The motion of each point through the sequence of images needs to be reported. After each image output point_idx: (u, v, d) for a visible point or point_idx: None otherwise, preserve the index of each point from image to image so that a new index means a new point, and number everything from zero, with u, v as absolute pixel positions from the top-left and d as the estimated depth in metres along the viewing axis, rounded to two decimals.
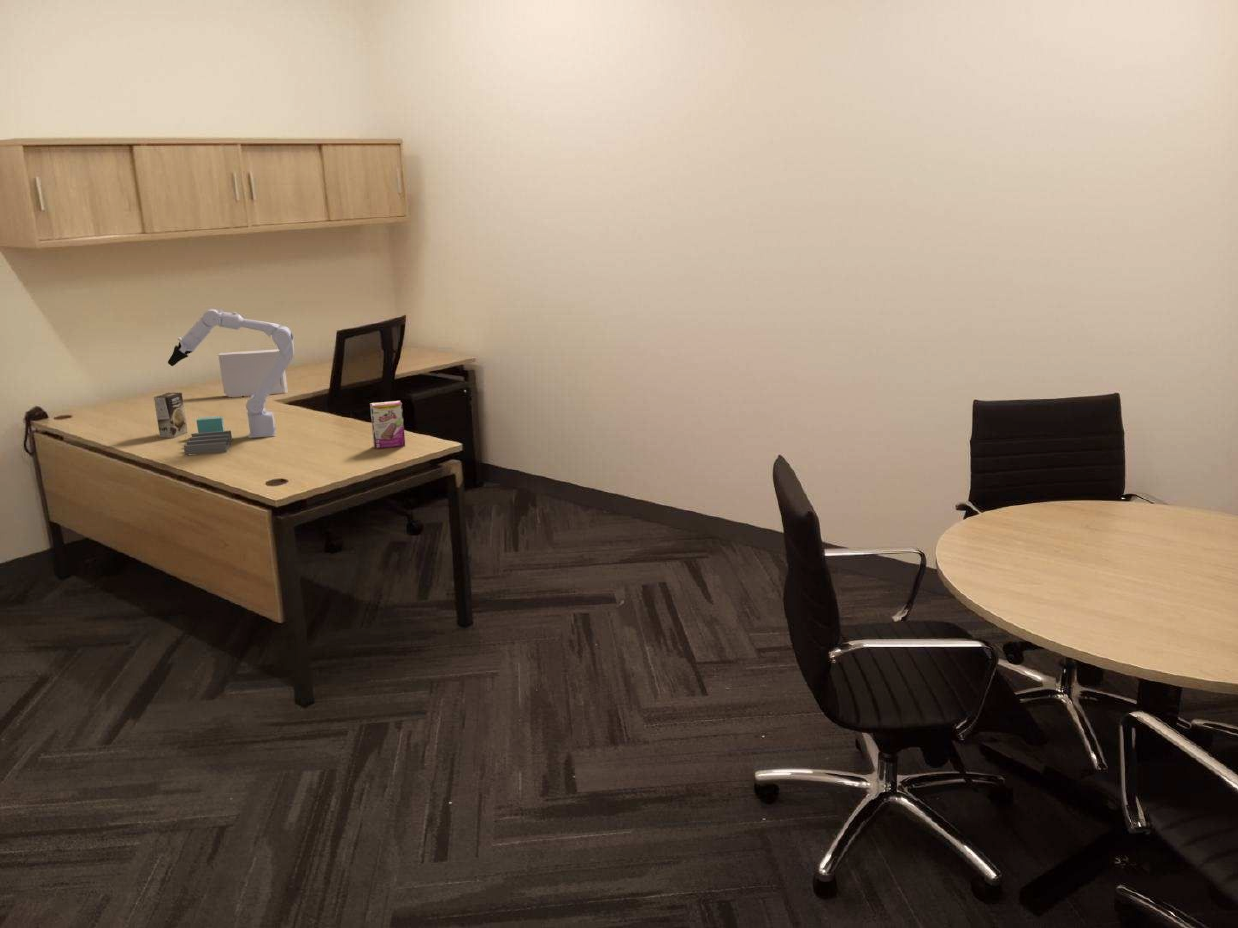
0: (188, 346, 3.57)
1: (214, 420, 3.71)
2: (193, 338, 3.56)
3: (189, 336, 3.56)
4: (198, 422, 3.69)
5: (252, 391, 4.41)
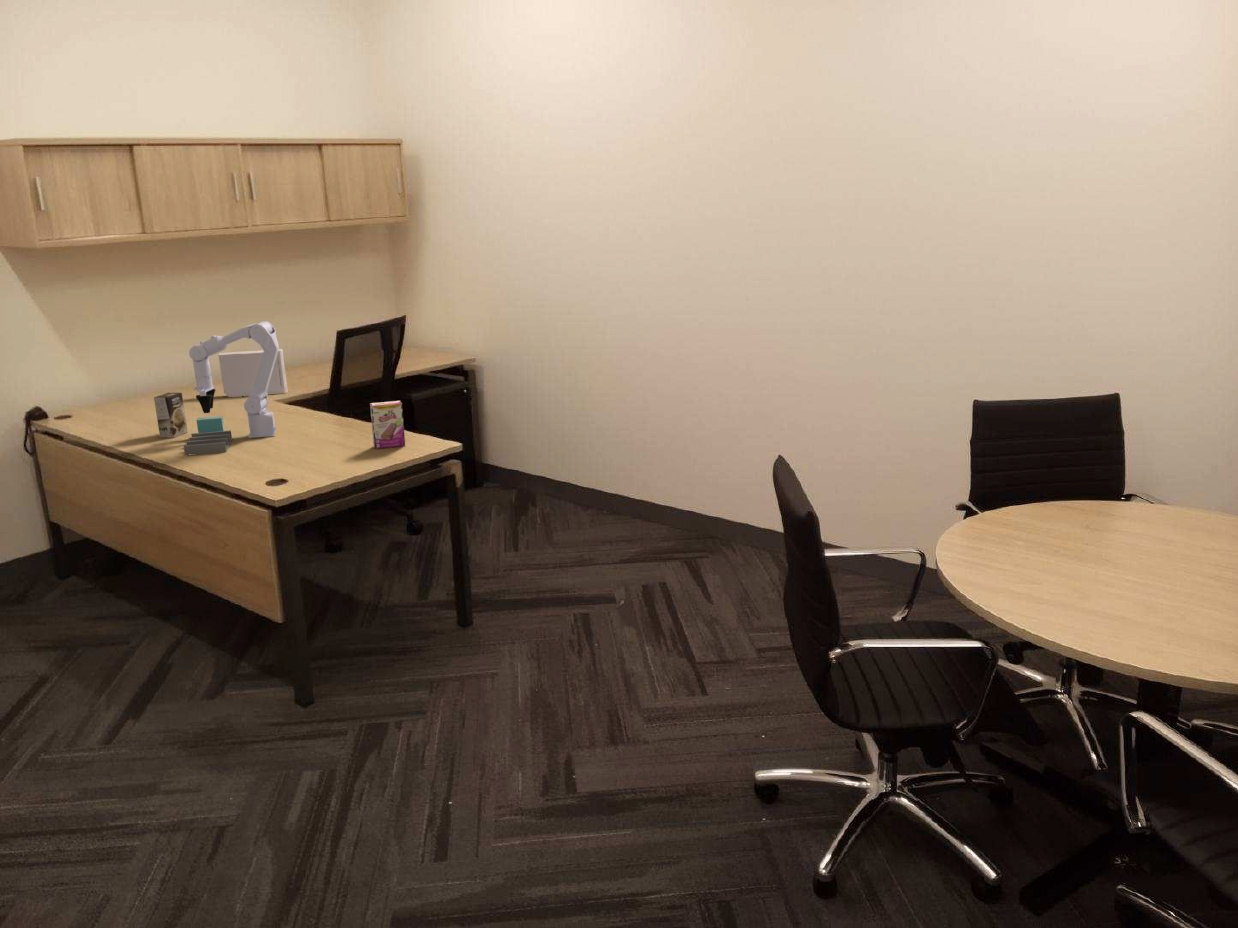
0: (205, 388, 3.66)
1: (214, 420, 3.71)
2: (202, 378, 3.65)
3: (198, 380, 3.65)
4: (198, 422, 3.69)
5: None
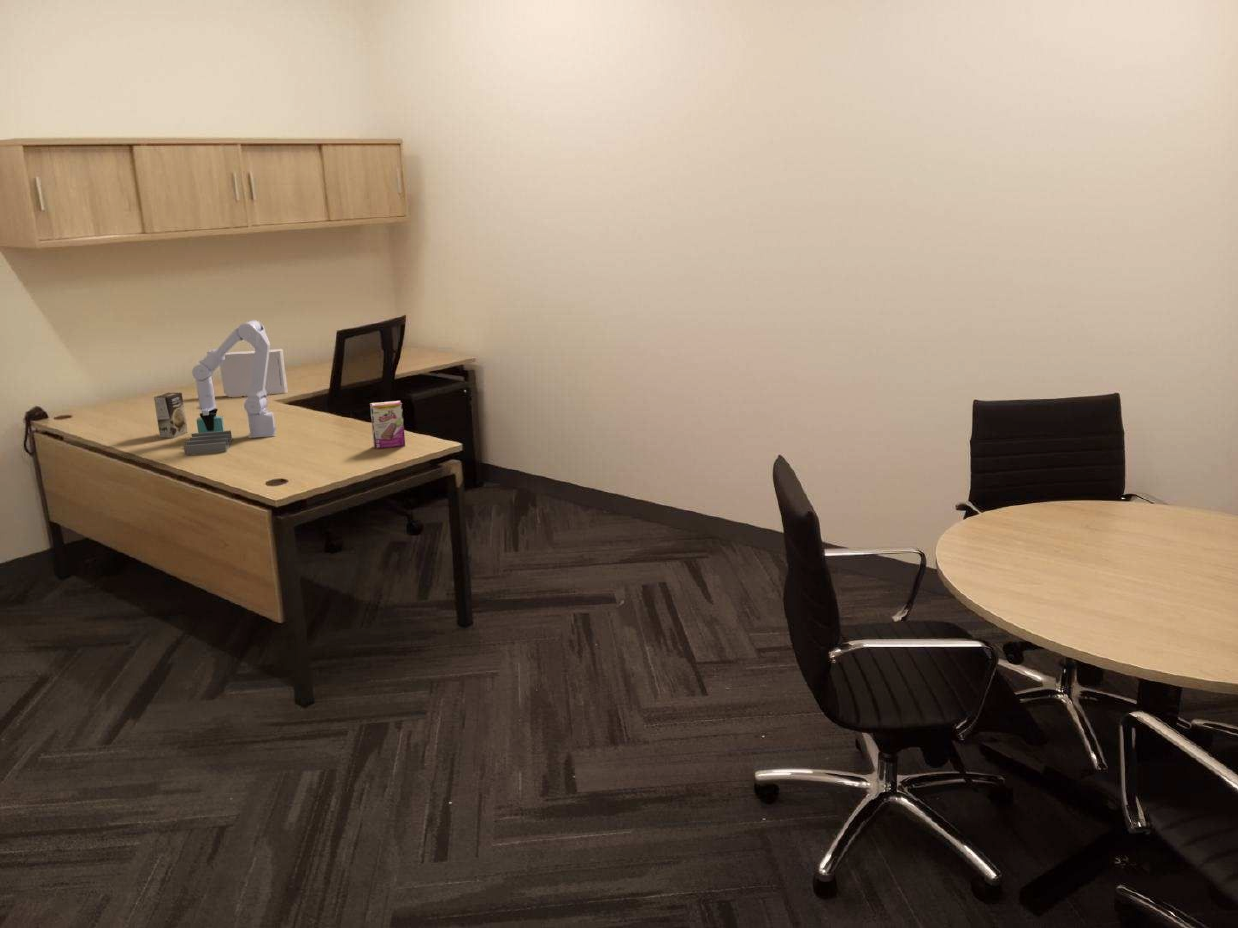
0: (208, 407, 3.68)
1: (214, 420, 3.71)
2: (205, 398, 3.67)
3: (201, 399, 3.67)
4: (198, 422, 3.69)
5: None
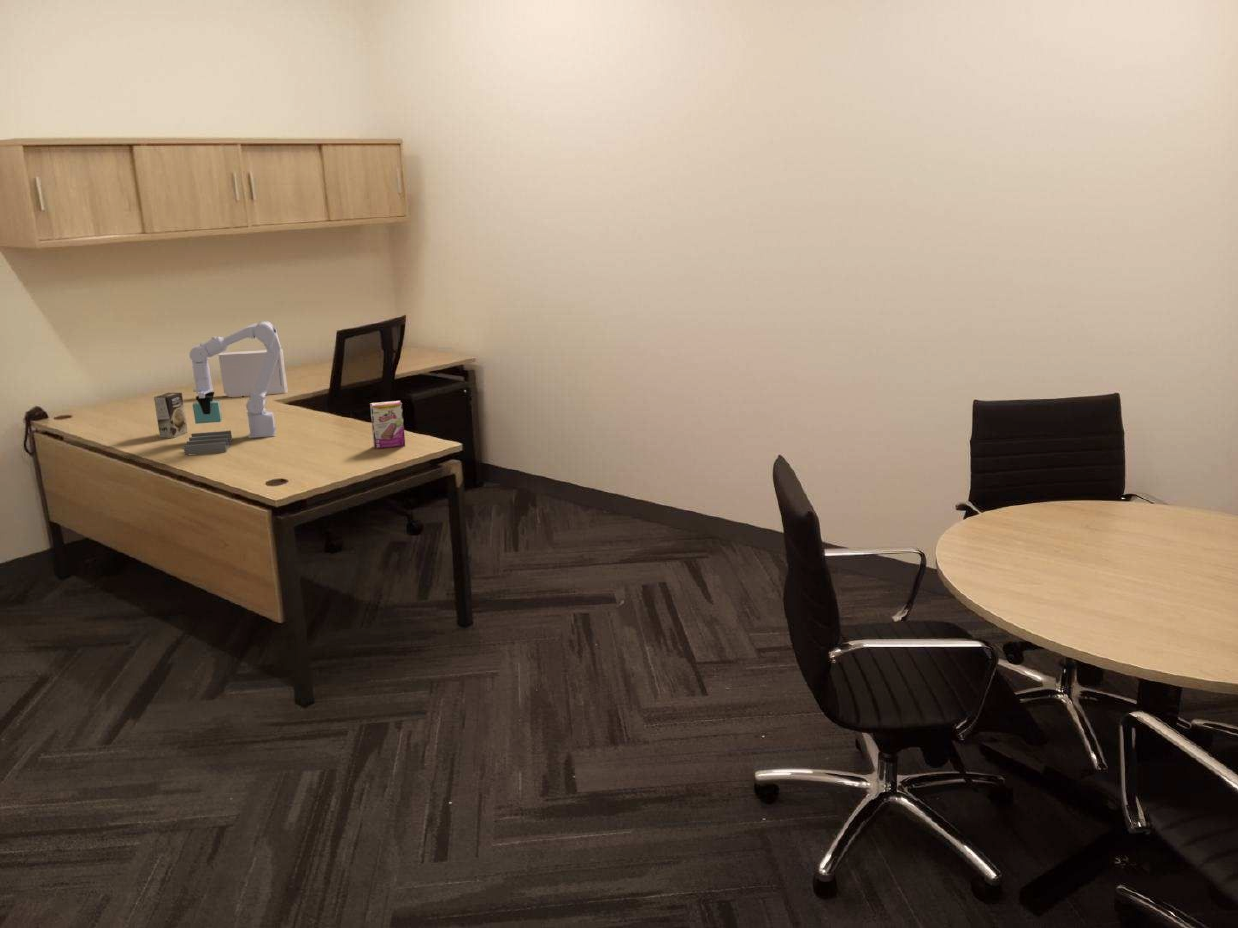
0: (204, 390, 3.62)
1: (210, 405, 3.65)
2: (201, 380, 3.61)
3: (197, 382, 3.61)
4: (194, 406, 3.64)
5: (252, 391, 4.41)
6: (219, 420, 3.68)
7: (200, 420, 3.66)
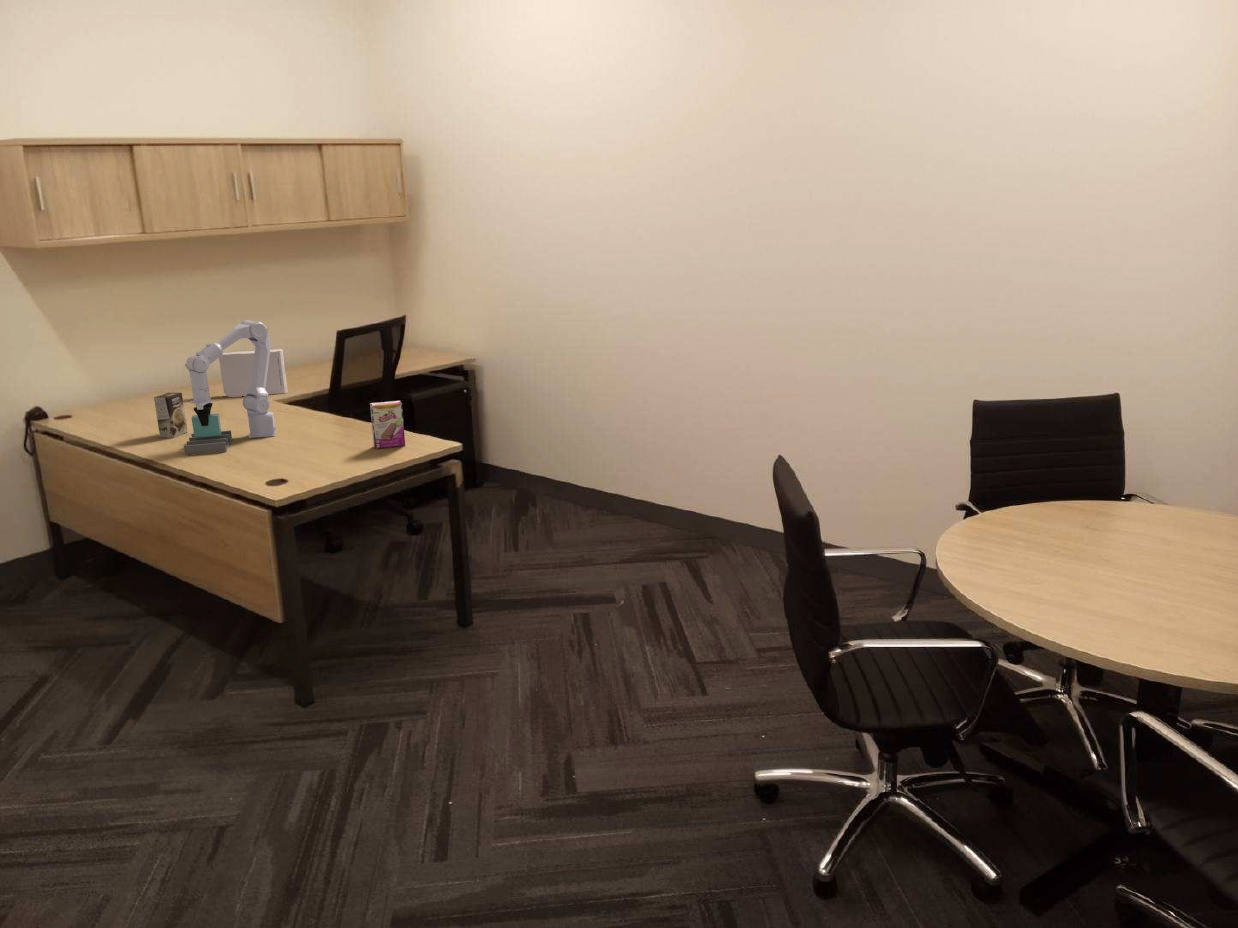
0: (202, 401, 3.52)
1: (210, 418, 3.55)
2: (199, 391, 3.50)
3: (195, 393, 3.51)
4: (193, 420, 3.54)
5: None
6: (219, 434, 3.57)
7: (199, 434, 3.56)
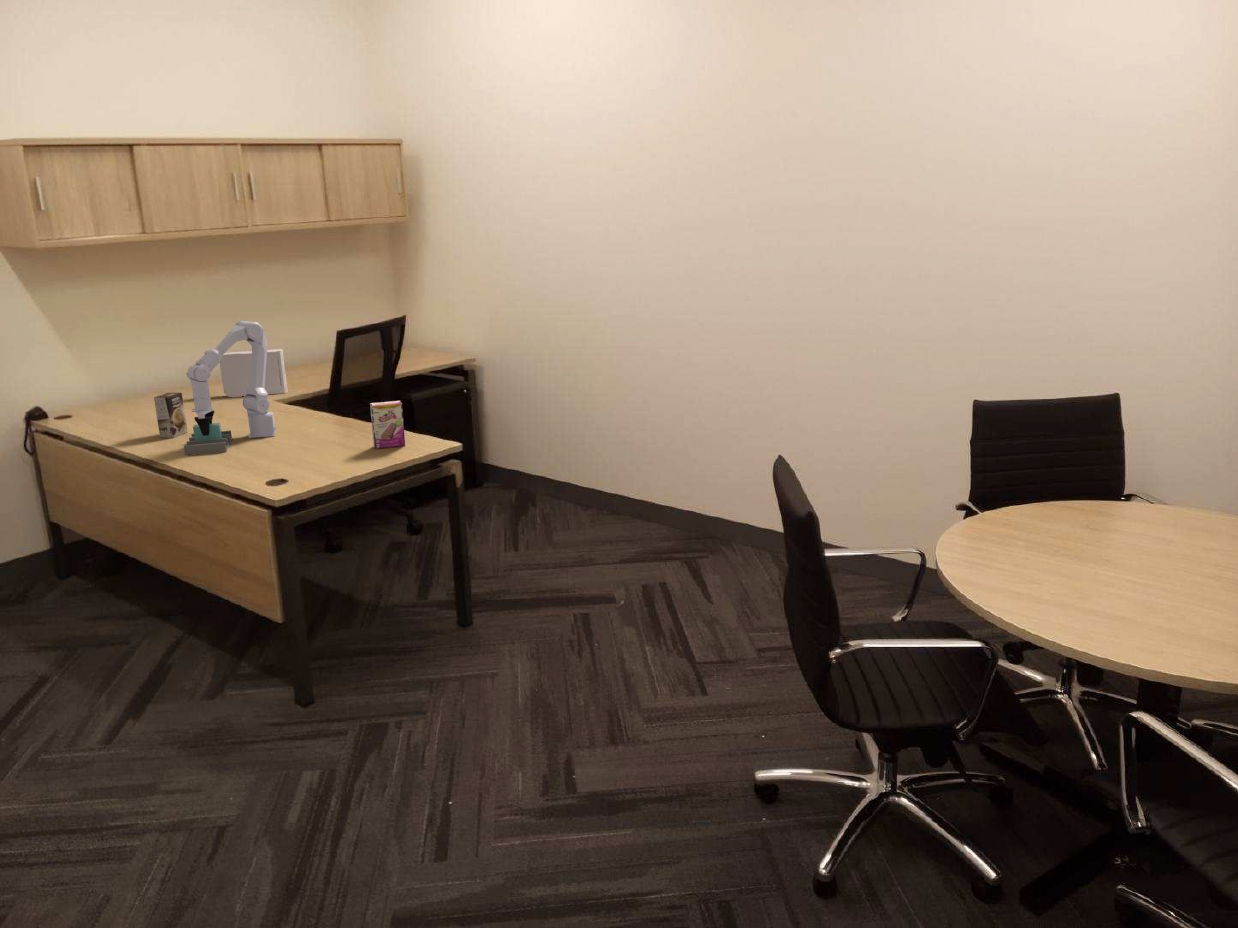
0: (204, 410, 3.53)
1: (211, 427, 3.56)
2: (201, 400, 3.51)
3: (197, 402, 3.52)
4: (195, 429, 3.55)
5: None
6: None
7: None
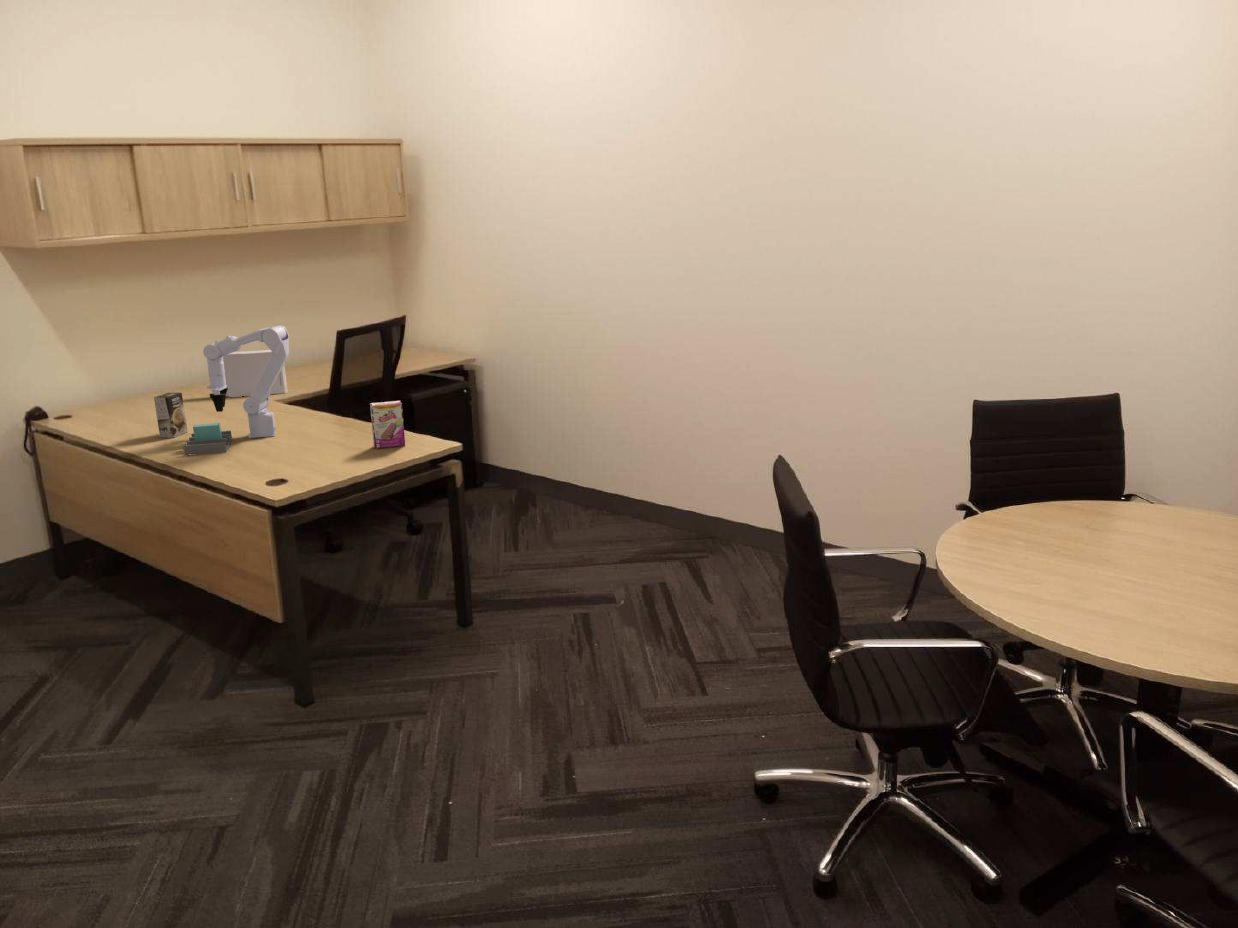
0: (219, 386, 3.67)
1: (211, 427, 3.56)
2: (216, 377, 3.66)
3: (212, 379, 3.66)
4: (195, 429, 3.55)
5: (252, 391, 4.41)
6: None
7: None
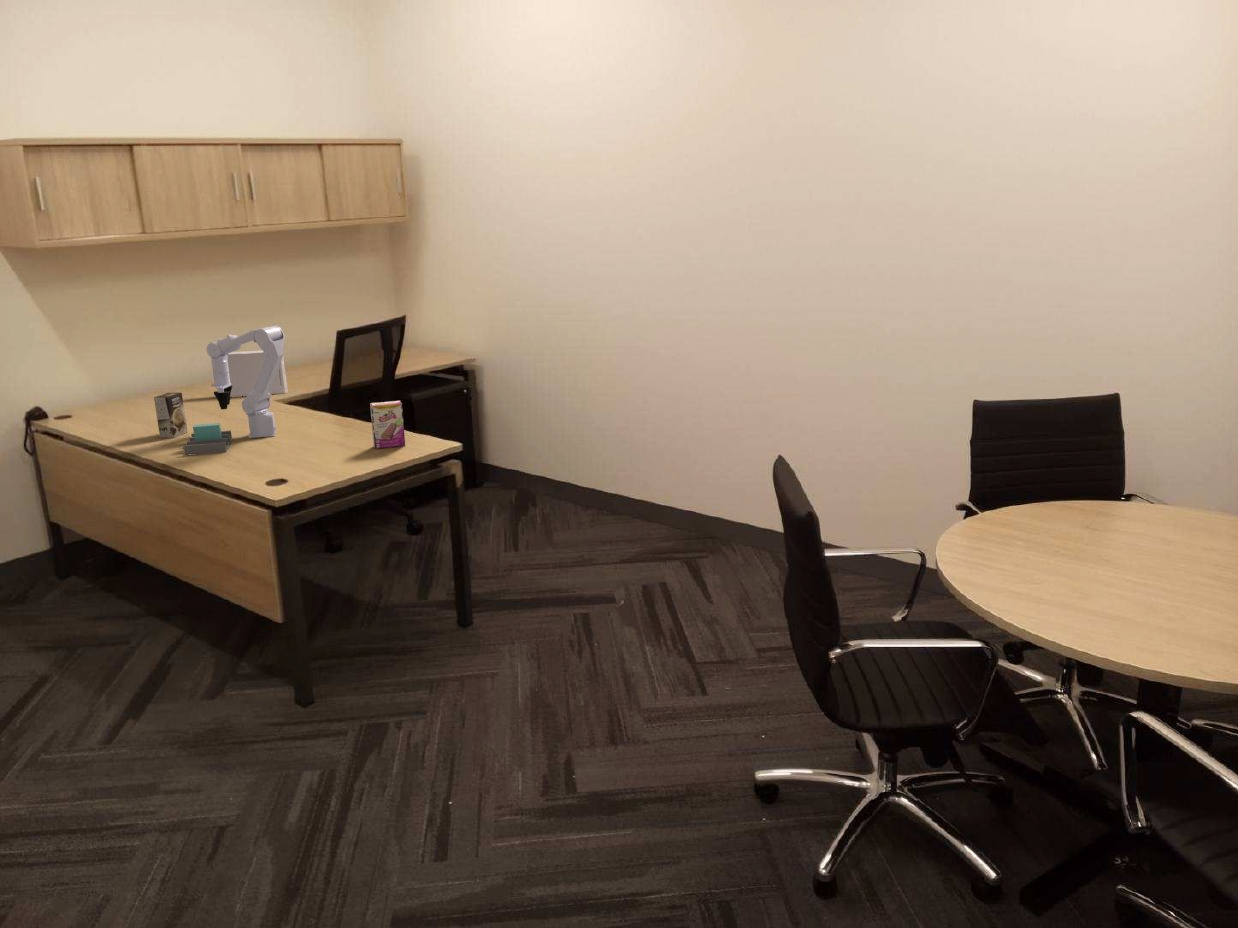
0: (223, 384, 3.71)
1: (211, 427, 3.56)
2: (220, 375, 3.70)
3: (216, 377, 3.70)
4: (195, 429, 3.55)
5: None
6: None
7: None
